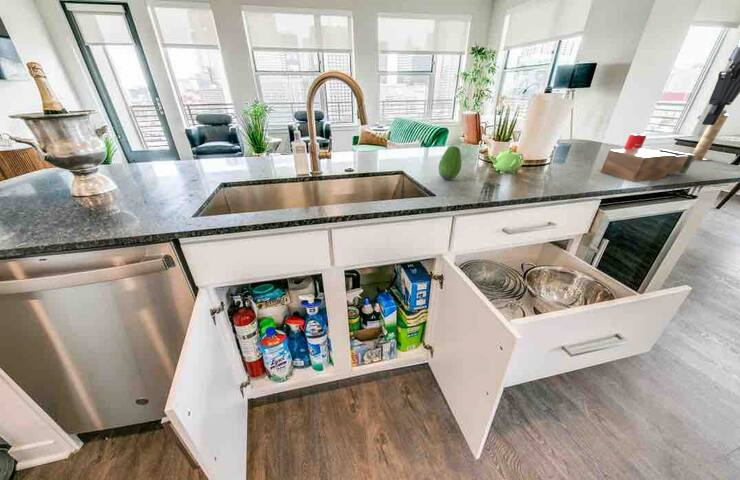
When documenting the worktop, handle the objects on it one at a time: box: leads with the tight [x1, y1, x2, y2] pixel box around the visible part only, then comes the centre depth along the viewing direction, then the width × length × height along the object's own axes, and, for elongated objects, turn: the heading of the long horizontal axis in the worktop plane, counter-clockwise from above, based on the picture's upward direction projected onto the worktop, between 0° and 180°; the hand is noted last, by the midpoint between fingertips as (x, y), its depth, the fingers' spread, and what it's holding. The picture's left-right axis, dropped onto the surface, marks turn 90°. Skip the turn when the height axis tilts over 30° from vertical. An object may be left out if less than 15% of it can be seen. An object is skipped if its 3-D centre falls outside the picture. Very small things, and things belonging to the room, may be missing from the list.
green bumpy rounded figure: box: [488, 149, 524, 175], centre depth 107 cm, size 11×12×8 cm
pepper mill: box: [691, 109, 730, 159], centre depth 118 cm, size 4×4×20 cm
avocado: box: [438, 145, 463, 181], centre depth 98 cm, size 8×8×12 cm
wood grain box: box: [600, 147, 677, 182], centre depth 101 cm, size 14×12×8 cm
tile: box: [694, 157, 713, 162], centre depth 123 cm, size 7×7×1 cm
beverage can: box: [623, 132, 647, 149], centre depth 115 cm, size 5×5×12 cm
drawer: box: [653, 148, 696, 175], centre depth 104 cm, size 18×11×7 cm, turn 103°
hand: (707, 124), depth 100 cm, fingers closed
